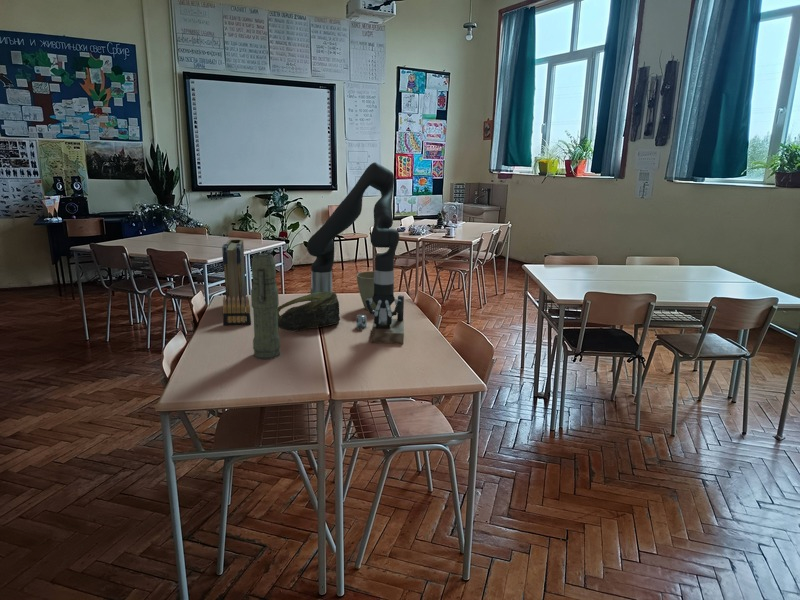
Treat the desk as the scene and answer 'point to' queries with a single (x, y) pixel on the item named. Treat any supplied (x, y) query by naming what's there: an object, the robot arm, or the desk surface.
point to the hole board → (391, 329)
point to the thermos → (265, 307)
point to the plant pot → (366, 287)
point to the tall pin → (382, 318)
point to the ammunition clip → (236, 315)
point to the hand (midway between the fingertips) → (382, 324)
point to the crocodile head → (310, 312)
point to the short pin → (361, 321)
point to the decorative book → (234, 270)
